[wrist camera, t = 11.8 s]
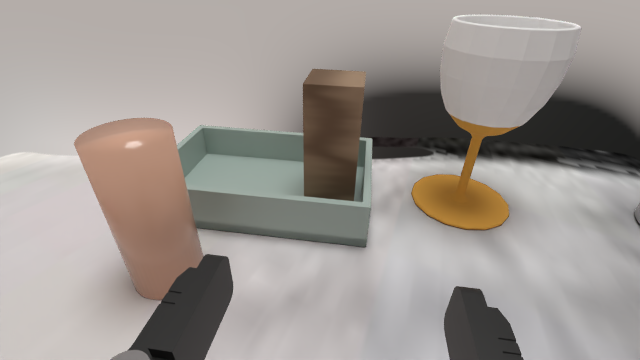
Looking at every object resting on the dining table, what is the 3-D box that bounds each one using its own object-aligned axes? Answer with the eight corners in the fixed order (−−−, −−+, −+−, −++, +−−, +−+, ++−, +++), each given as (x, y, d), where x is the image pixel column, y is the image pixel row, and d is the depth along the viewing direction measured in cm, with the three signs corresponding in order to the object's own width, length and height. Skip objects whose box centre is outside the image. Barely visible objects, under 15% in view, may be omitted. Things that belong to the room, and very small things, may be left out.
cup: (521, 237, 28) (617, 33, 19) (412, 222, 29) (455, 25, 21) (496, 181, 35) (556, 17, 27) (410, 171, 37) (441, 12, 28)
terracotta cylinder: (215, 252, 26) (187, 120, 20) (185, 304, 22) (140, 158, 16) (158, 245, 26) (114, 115, 20) (119, 294, 22) (50, 150, 16)
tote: (368, 171, 37) (372, 138, 35) (365, 247, 26) (370, 207, 24) (205, 156, 39) (200, 125, 37) (145, 221, 29) (132, 183, 26)
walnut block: (355, 182, 33) (365, 71, 27) (353, 209, 29) (364, 87, 23) (311, 178, 34) (312, 68, 28) (303, 204, 30) (302, 83, 24)
